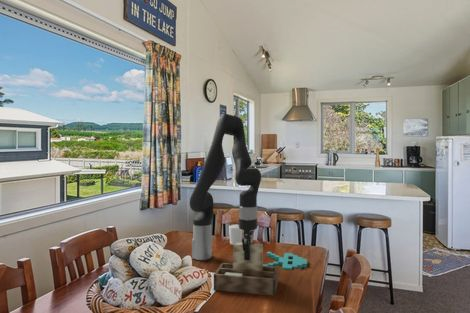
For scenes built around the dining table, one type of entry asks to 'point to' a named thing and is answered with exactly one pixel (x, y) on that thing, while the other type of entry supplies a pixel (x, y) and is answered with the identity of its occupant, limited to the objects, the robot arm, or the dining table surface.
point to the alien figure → (287, 261)
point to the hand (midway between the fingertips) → (247, 258)
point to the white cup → (235, 234)
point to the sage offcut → (234, 274)
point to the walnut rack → (246, 280)
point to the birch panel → (255, 257)
